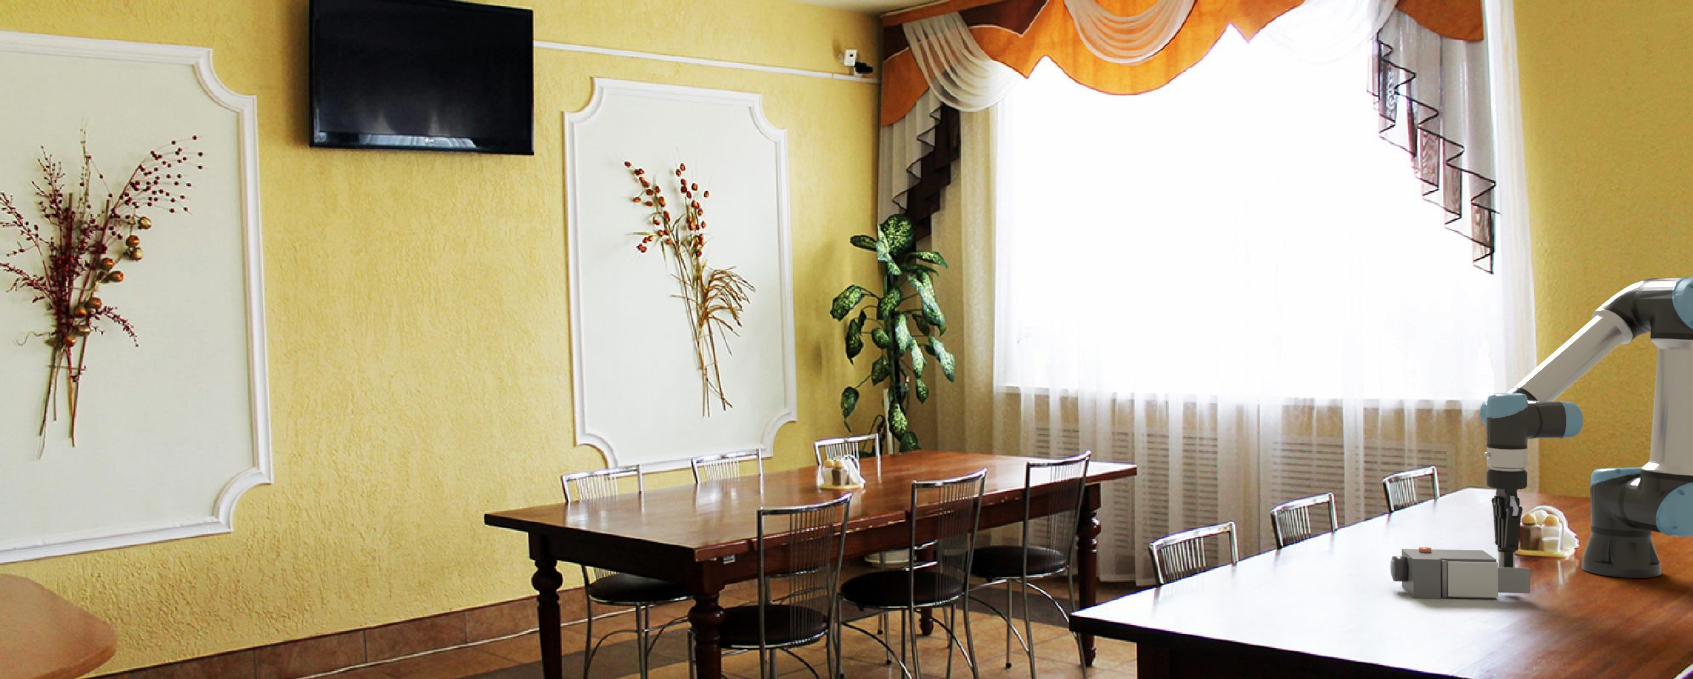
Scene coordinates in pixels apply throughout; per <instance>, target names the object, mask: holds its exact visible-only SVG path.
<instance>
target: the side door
mask: <svg viewBox="0 0 1693 679" xmlns="http://www.w3.org/2000/svg"><path fill="white" fill-rule="evenodd" d="M1500 593H1502V594H1504V593H1505V594H1531V568H1530V567H1515V568H1510V567H1499V562H1497V561H1496V562H1458V561H1447V560H1442V597H1441V599H1442V598H1443V599H1447V596H1454V597H1495V598H1499V594H1500Z"/></svg>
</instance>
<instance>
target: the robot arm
mask: <svg viewBox="0 0 1693 679" xmlns="http://www.w3.org/2000/svg"><path fill="white" fill-rule="evenodd" d="M1648 333H1650V336H1649V337H1650V338H1649V340H1650V341H1651V343H1652V344H1653V345H1654V346H1655V347H1656V348H1657V354H1656V356H1657V357H1656V367H1655V368H1656V369H1655V382H1654V384H1655V385H1654V395H1653V396H1654V397H1653V398H1654V399H1653V409H1652V412H1653V413H1652V424H1651V439H1650V440H1651V441H1650V452H1649V460H1648V462H1647V463H1645V464H1644V465H1643V466H1641V467H1639V466H1638V467H1615V468H1614V467H1611V468H1597V469H1595V470H1593V471H1592V473H1591V475H1590V477H1591V478H1590V484H1589V493H1590V494H1589V495H1590V496H1589V497H1590V501H1589V502H1590V506H1589V507H1590V537H1589V539H1588V541H1587V544H1586V547H1585V550H1584V552H1583V555H1582V558H1581V569H1582V570H1583V571H1585V572H1587V573H1591V574H1596V575H1600V576H1608V577H1617V578H1627V579H1629V578H1631V579H1634V578H1635V579H1645V578H1655V577H1659V576H1661V575H1662V563H1661V561H1660V558H1659V555H1658V553H1657V552H1658V551H1657V548H1656V546H1655V544H1654V541H1653V538H1652V537H1653V536H1652V534H1653V532H1655V533H1660V534H1663V535H1666V536H1668V537H1678V538H1679V537H1681V538H1690V537H1693V276H1684V277H1665V278H1662V277H1660V278H1659V277H1655V278H1654V277H1653V278H1645V279H1642V280H1639V281H1636V282H1634V283H1632V284H1630V285H1629V286H1626V287H1625V288H1623V289H1621V290H1620V291H1618V292H1617V293H1616V294H1613V295H1612V296H1611V297H1610V298H1608V299H1607V300H1606V301H1605V302H1603V303H1602V304H1601V305H1600V306H1599V307H1597V308H1596V309H1595V310H1594V311H1593V312H1592V314H1591V320H1589V322H1588V323H1587V324H1585V325H1584V326H1583V327H1582V328H1581V329H1579V331H1577V332H1576V333H1575V334H1574V335H1573V336H1572V337H1570V338H1569V339H1568V340H1567V341H1565V342H1564V343H1563V344H1562V345H1561V346H1560V347H1559V348H1557V349H1555V351H1554V352H1553V353H1551V355H1549V356H1548V357H1547V358H1546V359H1544V360H1543V361H1542V362H1541V363H1540V364H1539V365H1538V366H1537V367H1535V368H1534V369H1533V370H1531V372H1530V373H1528V374H1527V375H1526V376H1525V377H1524V378H1523V379H1521V380H1520V381H1519V382H1518V383H1517V384H1516V385H1514V386H1513V387H1512V388H1511V389H1509V391H1507V392H1495V393H1491V394H1489V395H1488V396H1487V399H1485V400H1484V401H1483V402H1482V404H1481V405H1480V409H1479V418H1480V420H1481V423H1482V424H1483V425H1484V426H1485V427H1486V450H1487V451H1485V452H1484V453H1483V456H1484V457H1486V466H1487V467H1489V468H1487V469H1486V486H1487V487H1488V488H1491V489H1496V490H1495V495H1494V496H1493V497H1492V498H1491V505H1492V512H1493V513H1492V514H1493V528H1494V545H1495V546H1497V552H1498V567H1510V568H1516V567H1515V566H1516V556H1515V555H1516V554H1515V553H1516V551H1517V552H1518V551H1519V548H1520V546H1519V545H1520V534H1521V533H1520V532H1521V520H1522V514H1523V510H1524V508H1523V506H1522V505H1520V504H1521V503H1520V502H1521V501H1520V498H1519V497H1518V490H1525V489H1527V487H1528V471H1527V470H1526V468H1527V467H1528V465H1529V464H1528V463H1529V461H1528V460H1529V458H1528V457H1529V456H1528V454H1529V453H1528V451H1529V450H1528V442H1529V441H1528V440H1533V439H1560V440H1563V439H1565V438H1567V439H1568V438H1573V437H1576V436H1578V434H1580V433H1581V431H1582V429H1583V427H1584V416H1583V412H1582V410H1581V408H1580V407H1579V406H1578V405H1577V404H1576V403H1574V402H1571V401H1561V400H1558V401H1556V399H1558V398H1560V396H1561V395H1562V394H1563V393H1565V392H1566V391H1567V390H1568V389H1569V388H1570V387H1572V385H1574V384H1575V383H1577V382H1578V381H1579V380H1580V379H1581V378H1582V377H1584V375H1585V374H1587V373H1588V372H1589V371H1590V370H1592V369H1593V368H1594V367H1595V366H1596V365H1597V364H1599V363H1600V362H1601V361H1602V360H1604V358H1605V357H1606V356H1608V355H1609V354H1610V353H1612V352H1613V351H1614V350H1615V349H1616V348H1617V347H1618V346H1620V345H1627V344H1630V343H1631V342H1632V341H1633V340H1635V339H1636V338H1637V337H1639V336H1642V335H1644V334H1648Z"/></svg>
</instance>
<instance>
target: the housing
mask: <svg viewBox="0 0 1693 679" xmlns="http://www.w3.org/2000/svg"><path fill="white" fill-rule="evenodd" d="M1442 560H1447V561H1458V562H1497V558H1496V557H1493V556H1492V555H1490V554H1488V552H1486V551H1484V550H1483V549H1482V550H1481V549H1480V550H1479V549H1477V550H1476V549H1435V548H1432V547H1428V546H1420V547H1418V548H1401V556H1398V555H1396V556H1395V555H1392V557H1391V560H1390V563H1389V564H1390V566H1389V567H1390V575H1391V577H1392V580H1393V582H1399V583H1400V582H1401V587H1402V588H1403V589H1404V590H1405V591H1406V592H1407V593H1408V594H1409V595H1410V596H1411V597H1412V598H1413V599H1442ZM1447 598H1449V599H1450V598H1452V599H1454V598H1455V599H1486V600H1488V599H1490V600H1491V599H1493V600H1494V599H1495V600H1497V598H1495V597H1454V596H1447ZM1447 598H1446V599H1447Z"/></svg>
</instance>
